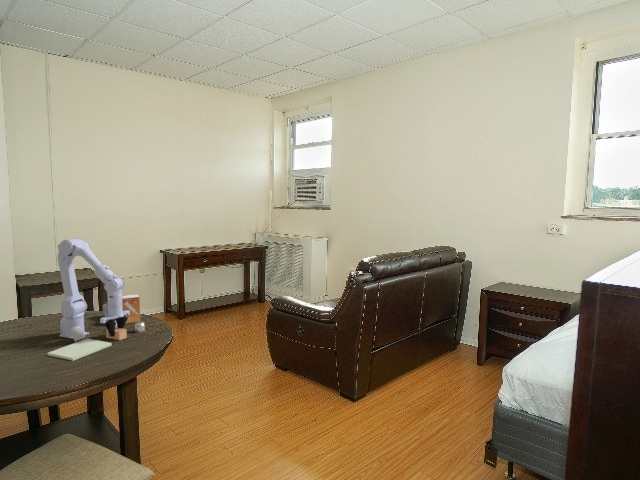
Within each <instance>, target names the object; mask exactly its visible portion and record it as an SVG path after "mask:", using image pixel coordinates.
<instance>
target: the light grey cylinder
mask: <svg viewBox="0 0 640 480" xmlns="http://www.w3.org/2000/svg"><path fill="white" fill-rule="evenodd" d="M134 325H135V326H134V328H135V333H136V334H137V333H144V332H145V331H146V329H145V327H146V324H145V321H140V322H134Z"/></svg>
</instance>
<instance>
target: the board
mask: <svg viewBox="0 0 640 480" xmlns="http://www.w3.org/2000/svg"><path fill="white" fill-rule="evenodd" d="M111 346H112V342H108V341H102V340H97V339H91V338H84V339H83V340H80V341H77V342H74V343H71V344H69V345H66V346H62V347H60V348H56V349H55V350H51V351H49V352H47V356H49V357H54V358H59V359H65V360H68V361H72V362H74V361H76V360H78V359H81V358H83V357H86V356H88V355H92V354H94V353H96V352H99V351H101V350H103V349H106V348H109V347H111Z"/></svg>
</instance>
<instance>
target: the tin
mask: <svg viewBox="0 0 640 480" xmlns="http://www.w3.org/2000/svg"><path fill="white" fill-rule="evenodd" d="M101 308H102V314H103V315H104V316H103V317H105V316H107V315H108V301H105V302H104V303H102V306H101ZM113 321H116V319H114V320H113Z"/></svg>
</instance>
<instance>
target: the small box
mask: <svg viewBox="0 0 640 480" xmlns="http://www.w3.org/2000/svg"><path fill="white" fill-rule="evenodd" d="M140 302H141V297H140V295H138V294H137V293H136V294H128V295H122V311H126V310H128V311H130V315H126V316H125V317H128V319H127V321H126V323H125V324H129V323H131V324H132V323H137V322H141V307H140V306H141V303H140Z"/></svg>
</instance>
